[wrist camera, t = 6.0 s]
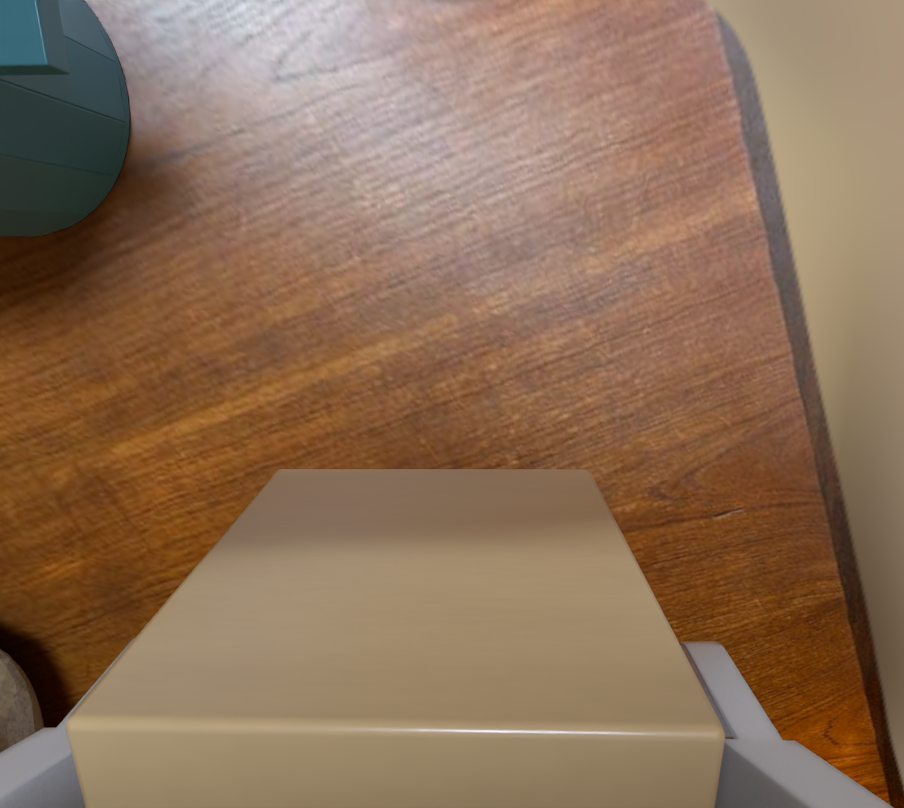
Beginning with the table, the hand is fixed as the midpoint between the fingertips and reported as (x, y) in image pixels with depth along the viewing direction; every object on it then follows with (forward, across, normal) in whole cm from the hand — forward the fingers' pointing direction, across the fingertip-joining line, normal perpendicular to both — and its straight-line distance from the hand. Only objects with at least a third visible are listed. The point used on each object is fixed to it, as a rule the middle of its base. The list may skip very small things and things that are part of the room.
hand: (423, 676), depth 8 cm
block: (+2, 0, 0) cm, 2 cm away
